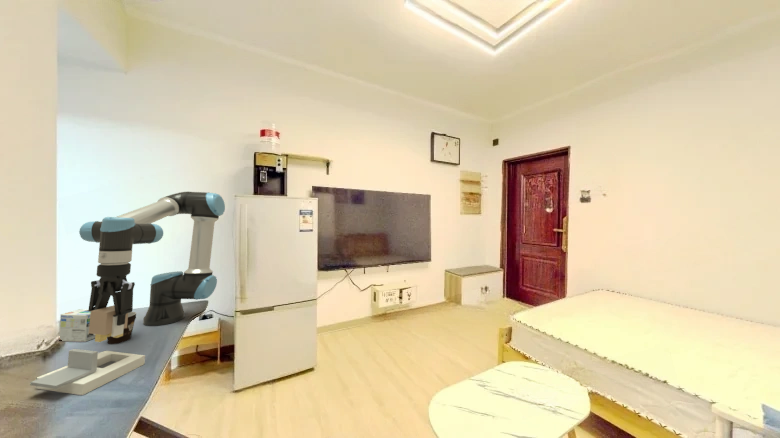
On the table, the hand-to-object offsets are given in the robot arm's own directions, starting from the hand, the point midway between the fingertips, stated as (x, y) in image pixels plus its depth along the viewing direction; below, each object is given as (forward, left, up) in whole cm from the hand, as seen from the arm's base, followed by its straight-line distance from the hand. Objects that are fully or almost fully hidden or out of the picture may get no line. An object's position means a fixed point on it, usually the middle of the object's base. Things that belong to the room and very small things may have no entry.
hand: (108, 333), depth 82 cm
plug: (0, 0, -1) cm, 1 cm away
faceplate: (+3, 0, -12) cm, 12 cm away
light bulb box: (-16, -35, -12) cm, 41 cm away
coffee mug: (-19, -19, -12) cm, 30 cm away
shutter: (+10, 0, -8) cm, 13 cm away
